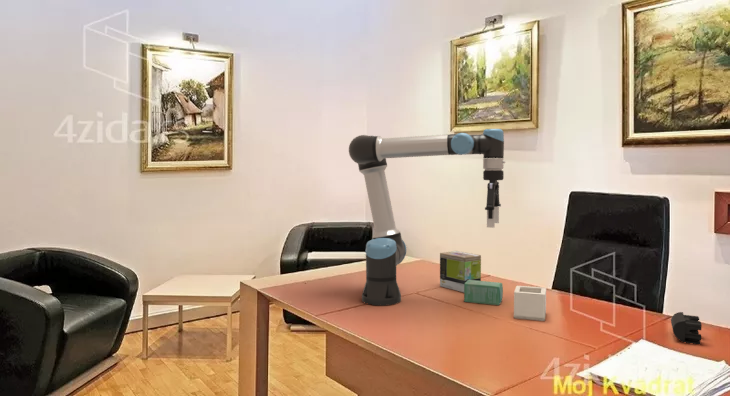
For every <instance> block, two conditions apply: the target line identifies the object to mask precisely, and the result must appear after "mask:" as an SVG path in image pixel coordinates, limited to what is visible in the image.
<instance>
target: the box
mask: <svg viewBox="0 0 730 396" xmlns="http://www.w3.org/2000/svg"><path fill="white" fill-rule="evenodd" d="M503 288H504V286H503V282H496V281H489V280H488V281H487V280H481V281H476V280H468V281H466V282H465V284H464V292H463V302H464V303H474V304H483V305H492V306H500V304H501V303H502V301H503V297H504V295H503V294H504V293H503V292H504V289H503Z"/></svg>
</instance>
